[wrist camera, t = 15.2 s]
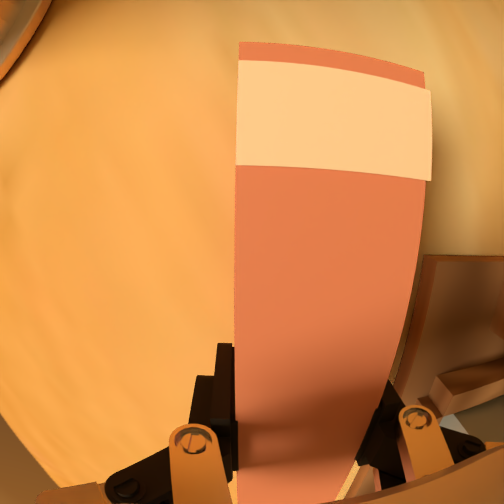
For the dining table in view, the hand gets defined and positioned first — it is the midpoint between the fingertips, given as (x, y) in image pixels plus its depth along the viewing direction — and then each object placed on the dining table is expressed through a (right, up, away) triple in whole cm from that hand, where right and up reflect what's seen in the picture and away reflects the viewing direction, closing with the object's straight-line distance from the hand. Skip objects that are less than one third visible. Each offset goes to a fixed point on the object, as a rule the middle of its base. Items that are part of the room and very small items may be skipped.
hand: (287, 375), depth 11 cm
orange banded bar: (0, 0, +1) cm, 1 cm away
